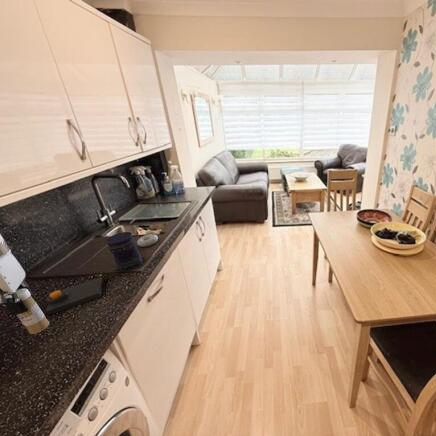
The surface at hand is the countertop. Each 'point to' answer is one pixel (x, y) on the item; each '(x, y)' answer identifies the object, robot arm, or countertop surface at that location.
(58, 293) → the tare button
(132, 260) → the storage jar
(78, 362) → the countertop surface
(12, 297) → the robot arm
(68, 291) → the scale
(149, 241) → the donut
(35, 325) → the sprinkles bottle
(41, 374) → the countertop surface
